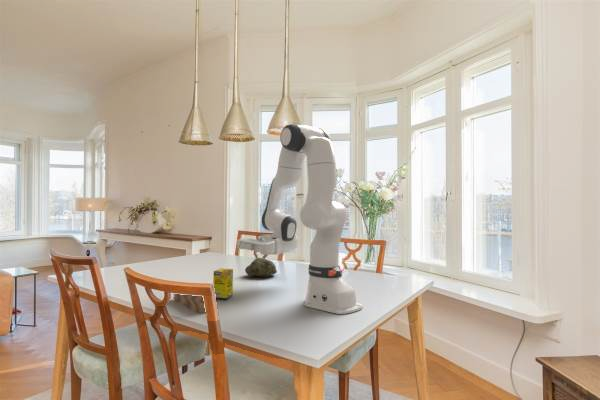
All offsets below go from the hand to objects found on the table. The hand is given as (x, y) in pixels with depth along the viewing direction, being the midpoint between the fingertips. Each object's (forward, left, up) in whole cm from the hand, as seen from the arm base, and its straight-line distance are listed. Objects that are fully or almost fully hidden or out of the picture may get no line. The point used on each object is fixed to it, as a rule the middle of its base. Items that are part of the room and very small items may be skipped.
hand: (239, 246), depth 141 cm
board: (-2, +22, -20) cm, 29 cm away
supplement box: (0, +7, -20) cm, 21 cm away
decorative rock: (+23, -28, -20) cm, 41 cm away
